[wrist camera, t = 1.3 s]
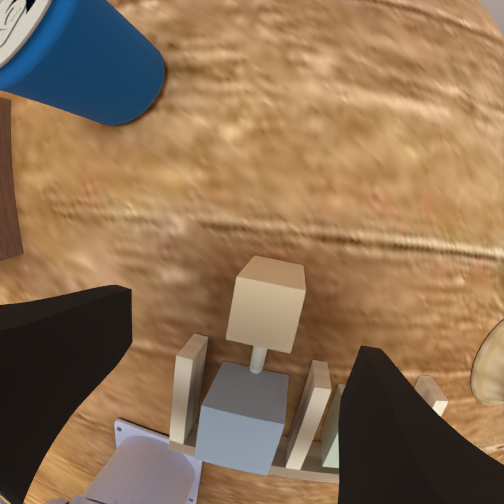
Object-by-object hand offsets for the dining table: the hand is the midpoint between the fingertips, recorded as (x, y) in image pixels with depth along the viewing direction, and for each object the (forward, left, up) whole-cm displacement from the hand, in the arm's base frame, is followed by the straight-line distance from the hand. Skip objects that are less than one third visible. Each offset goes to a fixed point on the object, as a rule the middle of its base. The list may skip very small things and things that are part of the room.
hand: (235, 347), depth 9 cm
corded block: (-5, -1, -11) cm, 12 cm away
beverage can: (+11, +12, -11) cm, 20 cm away
